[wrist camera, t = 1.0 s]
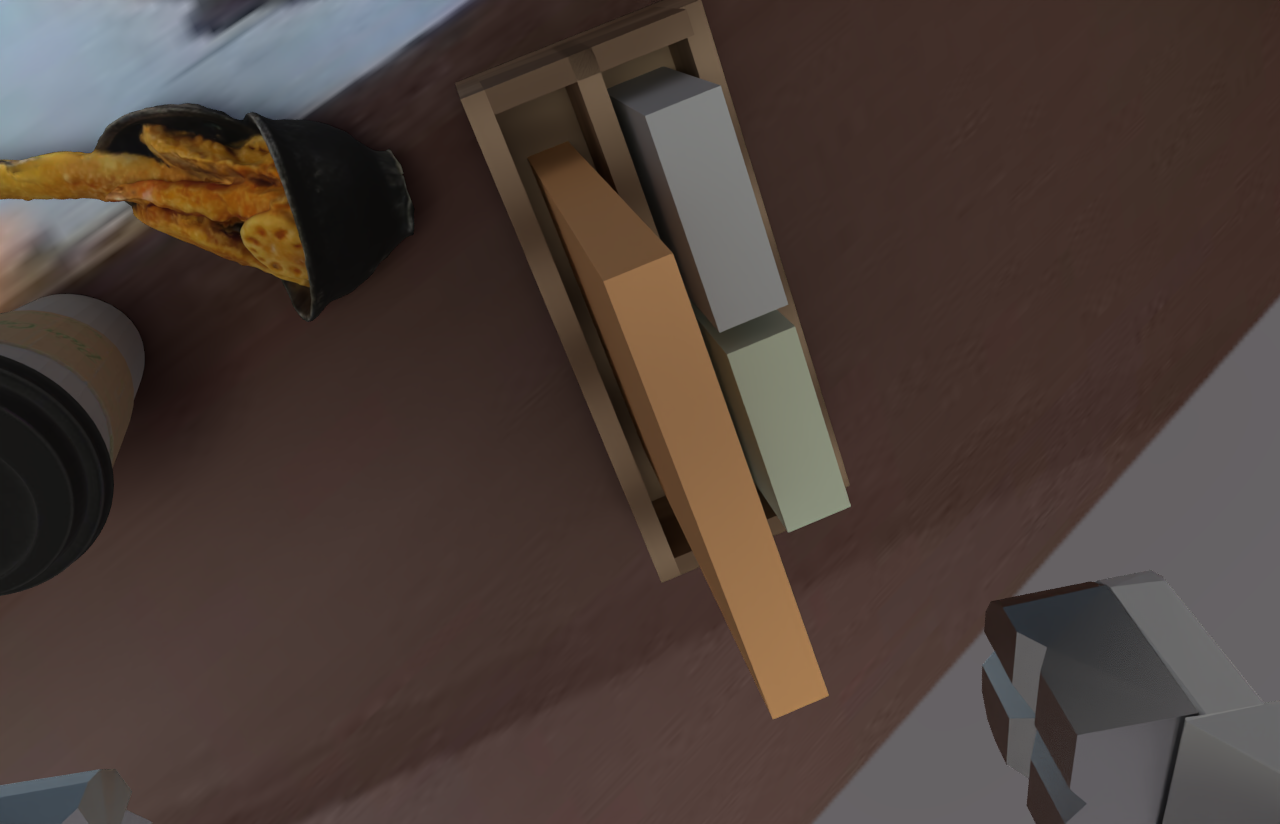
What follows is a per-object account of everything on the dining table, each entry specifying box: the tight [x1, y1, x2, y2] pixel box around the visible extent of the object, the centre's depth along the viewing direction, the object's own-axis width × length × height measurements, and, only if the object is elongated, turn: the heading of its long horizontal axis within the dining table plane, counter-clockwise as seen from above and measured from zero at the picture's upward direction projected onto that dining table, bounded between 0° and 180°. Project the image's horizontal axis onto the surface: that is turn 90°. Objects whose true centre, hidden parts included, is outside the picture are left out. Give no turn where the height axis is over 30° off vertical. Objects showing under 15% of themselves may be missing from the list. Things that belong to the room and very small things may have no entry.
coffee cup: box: [0, 294, 145, 596], centre depth 42 cm, size 9×9×15 cm
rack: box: [455, 0, 850, 583], centre depth 49 cm, size 24×10×8 cm, turn 20°
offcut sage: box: [689, 298, 851, 533], centre depth 49 cm, size 9×3×10 cm, turn 20°
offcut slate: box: [607, 66, 788, 333], centre depth 45 cm, size 9×3×10 cm, turn 20°
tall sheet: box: [527, 141, 829, 719], centre depth 41 cm, size 16×2×22 cm, turn 20°
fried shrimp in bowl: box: [0, 103, 414, 322], centre depth 43 cm, size 9×11×18 cm
